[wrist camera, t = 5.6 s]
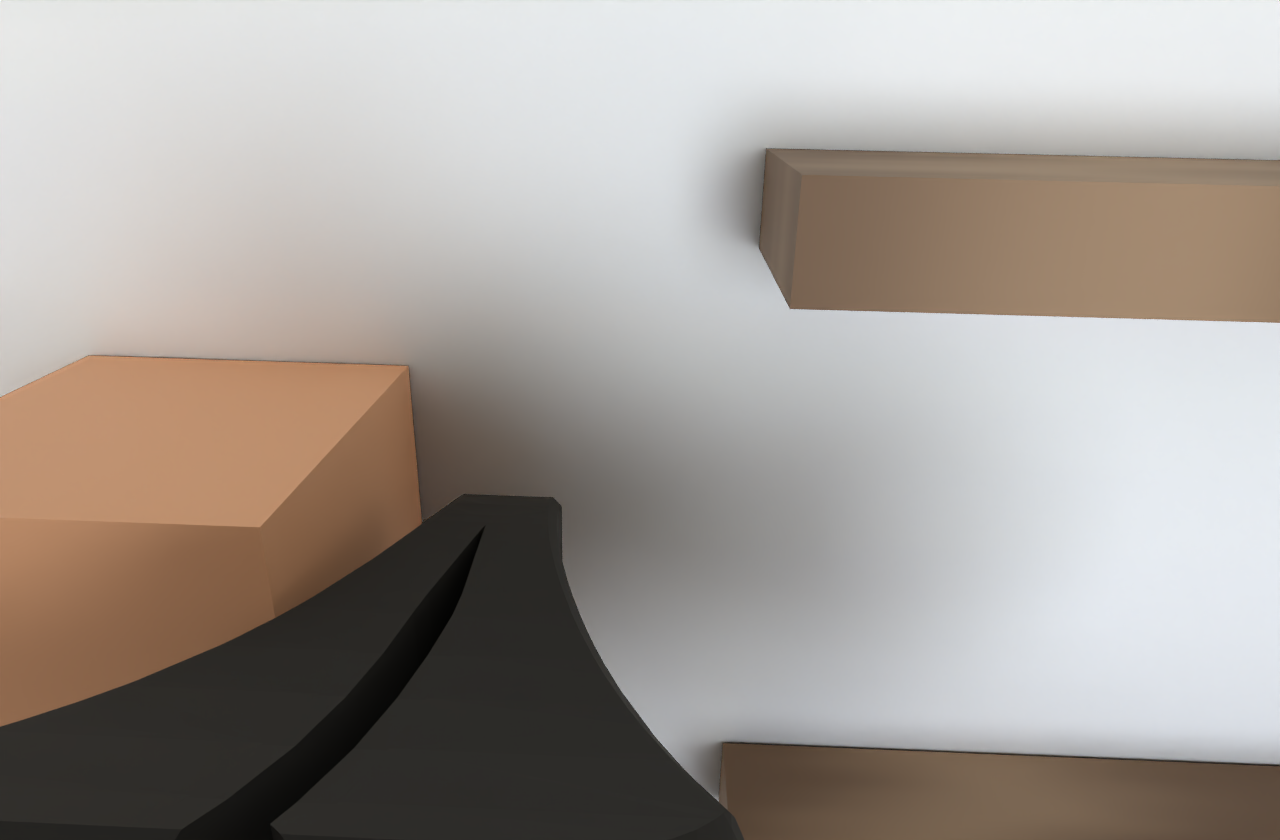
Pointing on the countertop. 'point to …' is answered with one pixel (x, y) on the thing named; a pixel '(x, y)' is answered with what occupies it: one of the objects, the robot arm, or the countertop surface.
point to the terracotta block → (184, 509)
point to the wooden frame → (1034, 286)
